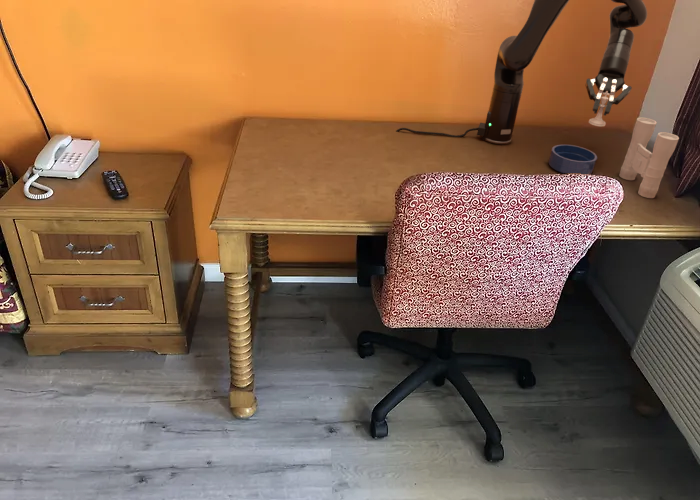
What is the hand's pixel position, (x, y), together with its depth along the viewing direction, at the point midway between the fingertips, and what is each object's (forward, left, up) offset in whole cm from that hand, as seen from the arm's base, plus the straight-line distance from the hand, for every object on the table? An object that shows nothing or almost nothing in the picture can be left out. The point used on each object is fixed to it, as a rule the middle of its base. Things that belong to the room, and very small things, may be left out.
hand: (600, 113), depth 179 cm
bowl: (-4, -3, -18) cm, 18 cm away
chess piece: (0, +2, -4) cm, 5 cm away
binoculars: (+15, -7, -18) cm, 24 cm away
